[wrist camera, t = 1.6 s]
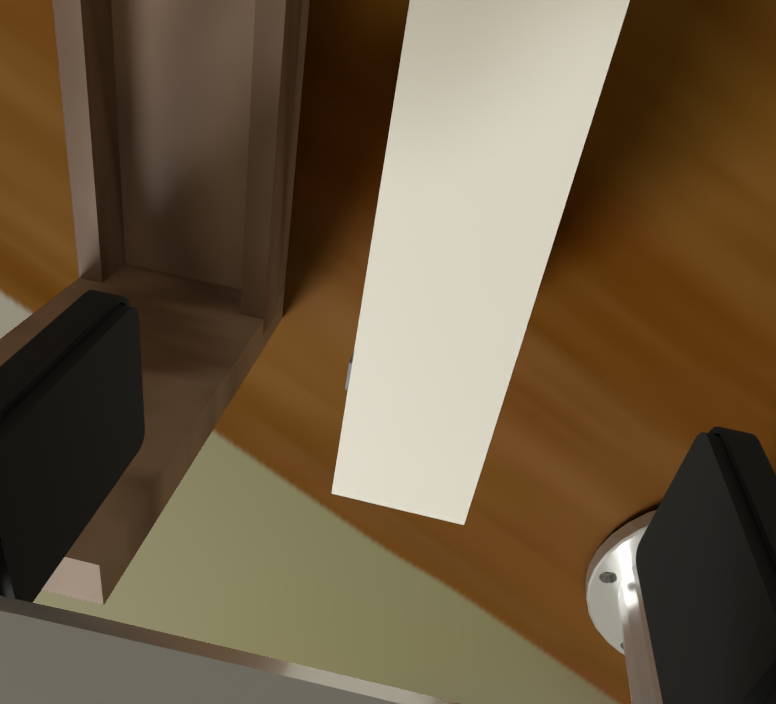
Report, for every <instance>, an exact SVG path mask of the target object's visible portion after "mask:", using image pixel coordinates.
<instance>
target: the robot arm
mask: <svg viewBox="0 0 776 704" xmlns="http://www.w3.org/2000/svg"><path fill="white" fill-rule="evenodd" d="M144 435H145V419H144V401H143V383H142V364H141V346H140V328H139V314H138V311H137V309H136V308H134V307H130V303H129V301H128V299H127V298H126V297H124V296H120V295H115V294H111V293H106V292H102V291H97V290H89V291H87V292H85V293H84V294H83V295H82V296H81V297H79V298H78V299H77V300H76V301H75V302H74V303H73V304H71V305H70V306H69V307H68V308H67V309H66V310H65V311H63V312H62V313H61V314H60V315H59V316H58V317H56V318H55V319H54V320H53V321H52V322H51V323H50V324H48V325H47V326H46V327H45V328H44V329H43V330H42V331H40V332H39V333H38V334H37V335H36V336H35V337H34V338H32V339H31V340H30V341H29V342H28V343H27V344H25V345H24V346H23V347H22V348H21V349H20V350H19V351H17V352H16V353H15V354H14V355H13V356H12V357H11V358H9V359H8V360H7V361H6V362H5V363H4V364H3V365H1V366H0V704H460V703H456V702H452V701H448V700H444V699H440V698H436V697H432V696H428V695H423V694H419V693H415V692H411V691H407V690H403V689H399V688H394V687H390V686H386V685H382V684H378V683H373V682H369V681H365V680H361V679H357V678H353V677H349V676H345V675H340V674H336V673H332V672H328V671H323V670H319V669H315V668H311V667H307V666H303V665H298V664H294V663H290V662H285V661H282V660H278V659H273V658H269V657H265V656H261V655H256V654H252V653H248V652H244V651H239V650H236V649H231V648H227V647H222V646H218V645H214V644H210V643H206V642H201V641H197V640H193V639H189V638H184V637H180V636H176V635H171V634H167V633H163V632H159V631H154V630H150V629H146V628H142V627H137V626H133V625H128V624H124V623H120V622H116V621H112V620H107V619H103V618H98V617H95V616H90V615H86V614H82V613H77V612H73V611H68V610H63V609H59V608H54V607H50V606H45V605H40V604H36V603H32V602H33V601H34V600H35V598H36V597H37V595H38V594H39V593H40V591H41V590H42V588H43V587H44V585H45V584H46V583H47V581H48V580H49V578H50V577H51V576H52V574H53V573H54V571H55V570H56V568H57V567H58V566H59V564H60V563H61V561H62V560H63V558H64V557H65V556H66V554H67V553H68V551H69V550H70V548H71V547H72V546H73V544H74V543H75V541H76V540H77V539H78V537H79V536H80V534H81V533H82V531H83V530H84V529H85V527H86V526H87V524H88V523H89V521H90V520H91V519H92V517H93V516H94V514H95V513H96V511H97V510H98V509H99V507H100V506H101V504H102V503H103V502H104V500H105V499H106V497H107V496H108V494H109V493H110V492H111V490H112V489H113V487H114V486H115V484H116V483H117V482H118V480H119V479H120V477H121V476H122V475H123V473H124V472H125V470H126V469H127V467H128V466H129V465H130V463H131V462H132V460H133V459H134V457H135V456H136V455H137V453H138V452H139V450H140V448H141V446H142V443H143V440H144ZM586 599H587V605H588V610H589V615H590V617H591V619H592V621H593V623H594V625H595V627H596V629H597V630H598V631H599V632H600V634H601V635H602V636H603V637H604V638H605V640H606V641H607V642H608V643H610V644H611V645H612V646H613V647H614V648H615V649H617V650H618V651H619V652H621V653H622V654H624V655H625V659H626V666H627V673H628V680H629V686H630V693H631V700H632V704H776V475H775V473H774V471H773V469H772V467H771V465H770V463H769V461H768V459H767V457H766V455H765V452H764V450H763V448H762V446H761V444H760V442H759V440H758V439H757V437H756V436H755V435H753V434H750V433H745V432H741V431H736V430H732V429H727V428H723V427H714V428H713V429H712V430H710V432H709V433H704V432H703V433H700V434H699V435H698V436H697V437H696V439H695V440H694V442H693V444H692V446H691V448H690V449H689V451H688V453H687V455H686V457H685V459H684V460H683V462H682V464H681V466H680V468H679V470H678V472H677V473H676V475H675V477H674V479H673V481H672V483H671V485H670V486H669V488H668V490H667V492H666V494H665V496H664V497H663V499H662V501H661V503H660V505H659V507H658V509H657V510H654V511H651V512H648V513H646V514H644V515H642V516H640V517H638V518H636V519H634V520H632V521H630V522H628V523H627V524H625V525H624V526H623V527H621V528H620V529H619V530H617V531H616V532H614V533H613V534H612V535H610V537H609V538H608V539H607V540H606V541H605V542H604V543H603V544H602V545H601V546H600V547H599V549H598V550H597V552H596V553H595V555H594V557H593V559H592V560H591V562H590V564H589V568H588V572H587V576H586Z"/></svg>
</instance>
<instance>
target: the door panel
mask: <svg viewBox="0 0 776 704" xmlns="http://www.w3.org/2000/svg"><path fill="white" fill-rule="evenodd" d="M629 2H630V0H410V2H409V9H408V15H407V21H406V28H405V34H404V40H403V46H402V53H401V59H400V65H399V72H398V78H397V84H396V91H395V97H394V103H393V109H392V116H391V122H390V128H389V135H388V141H387V147H386V154H385V160H384V166H383V172H382V179H381V185H380V191H379V198H378V204H377V210H376V217H375V223H374V229H373V235H372V242H371V248H370V254H369V261H368V267H367V273H366V280H365V286H364V292H363V298H362V305H361V311H360V317H359V324H358V330H357V336H356V343H355V349H354V352H353V354H352V357H351V359H350V362H349V367H348V373H347V380H346V386H345V389H347V390H348V393H347V399H346V406H345V412H344V418H343V424H342V431H341V437H340V443H339V450H338V456H337V462H336V469H335V475H334V481H333V487H332V494H336V495H340V496H345V497H349V498H353V499H357V500H361V501H365V502H370V503H374V504H378V505H382V506H386V507H391V508H395V509H399V510H403V511H407V512H411V513H416V514H420V515H424V516H428V517H432V518H437V519H441V520H445V521H449V522H453V523H458V524H462V525H464V523H465V520H466V517H467V514H468V510H469V507H470V504H471V501H472V498H473V495H474V492H475V488H476V485H477V482H478V479H479V476H480V473H481V469H482V466H483V463H484V460H485V457H486V454H487V450H488V447H489V444H490V441H491V438H492V435H493V432H494V428H495V425H496V422H497V419H498V416H499V413H500V409H501V406H502V403H503V400H504V397H505V394H506V390H507V387H508V384H509V381H510V378H511V375H512V371H513V368H514V365H515V362H516V359H517V356H518V353H519V349H520V346H521V343H522V340H523V337H524V334H525V330H526V327H527V324H528V321H529V318H530V315H531V311H532V308H533V305H534V302H535V299H536V296H537V292H538V289H539V286H540V283H541V280H542V277H543V274H544V270H545V267H546V264H547V261H548V258H549V255H550V251H551V248H552V245H553V242H554V239H555V236H556V232H557V229H558V226H559V223H560V220H561V217H562V213H563V210H564V207H565V204H566V201H567V198H568V195H569V191H570V188H571V185H572V182H573V179H574V176H575V172H576V169H577V166H578V163H579V160H580V157H581V153H582V150H583V147H584V144H585V141H586V138H587V135H588V131H589V128H590V125H591V122H592V119H593V116H594V112H595V109H596V106H597V103H598V100H599V97H600V93H601V90H602V87H603V84H604V81H605V78H606V74H607V71H608V68H609V65H610V62H611V59H612V56H613V52H614V49H615V46H616V43H617V40H618V37H619V33H620V30H621V27H622V24H623V21H624V18H625V14H626V11H627V8H628V5H629Z"/></svg>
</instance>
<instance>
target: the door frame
mask: <svg viewBox="0 0 776 704" xmlns="http://www.w3.org/2000/svg"><path fill="white" fill-rule="evenodd" d="M52 1H53V11H54V21H55V32H56V42H57V52H58V62H59V73H60V83H61V93H62V103H63V114H64V124H65V134H66V145H67V155H68V165H69V175H70V186H71V196H72V206H73V217H74V227H75V237H76V247H77V258H78V268H79V279H77V280H76V281H75V282H73V283H72V284H71V285H70V286H68V287H67V288H66V289H64V290H63V291H62V292H61V293H59V294H58V295H57V296H55V297H54V298H53V299H51V300H50V301H49V302H48V303H46V304H45V305H44V306H42V307H41V308H40V309H39V310H37V311H36V312H35V313H33V314H32V315H31V316H29V317H28V318H27V319H26V320H24V321H23V322H22V323H20V324H19V325H18V326H17V327H15V328H14V329H13V330H11V331H10V332H9V333H7V334H6V335H5V336H4V337H2V338H1V339H0V366H1V365H3V364H4V363H5V362H6V361H7V360H8V359H9V358H11V357H12V356H13V355H14V354H15V353H16V352H17V351H19V350H20V349H21V348H22V347H23V346H24V345H25V344H27V343H28V342H29V341H30V340H31V339H32V338H34V337H35V336H36V335H37V334H38V333H39V332H40V331H42V330H43V329H44V328H45V327H46V326H47V325H48V324H50V323H51V322H52V321H53V320H54V319H55V318H56V317H58V316H59V315H60V314H61V313H62V312H63V311H65V310H66V309H67V308H68V307H69V306H70V305H71V304H73V303H74V302H75V301H76V300H77V299H78V298H79V297H81V296H82V295H83V294H84V293H85V292H87V291H89V290H97V291H102V292H106V293H111V294H115V295H120V296H124V297H126V298H127V299H128V301H129V303H130V307H134V308H136V309H137V311H138V314H139V328H140V346H141V364H142V383H143V401H144V419H145V435H144V440H143V443H142V446H141V448H140V450H139V452H138V453H137V455H136V456H135V457H134V459H133V460H132V462H131V463H130V465H129V466H128V467H127V469H126V470H125V472H124V473H123V475H122V476H121V477H120V479H119V480H118V482H117V483H116V484H115V486H114V487H113V489H112V490H111V492H110V493H109V494H108V496H107V497H106V499H105V500H104V502H103V503H102V504H101V506H100V507H99V509H98V510H97V511H96V513H95V514H94V516H93V517H92V519H91V520H90V521H89V523H88V524H87V526H86V527H85V529H84V530H83V531H82V533H81V534H80V536H79V537H78V539H77V540H76V541H75V543H74V544H73V546H72V547H71V548H70V550H69V551H68V553H67V554H66V556H65V557H64V558H63V560H62V561H61V563H60V564H59V566H58V567H57V568H56V570H55V571H54V573H53V574H52V576H51V577H50V578H49V580H48V581H47V583H46V584H45V585H44V587H43V588H42V590H45V591H49V592H52V593H57V594H60V595H64V596H68V597H73V598H76V599H80V600H84V601H88V602H92V603H96V604H100V605H104V604H105V602H106V600H107V599H108V597H109V596H110V594H111V593H112V591H113V589H114V587H115V586H116V584H117V583H118V581H119V580H120V578H121V576H122V575H123V573H124V572H125V570H126V568H127V567H128V565H129V564H130V562H131V560H132V559H133V557H134V556H135V554H136V552H137V551H138V549H139V548H140V546H141V544H142V543H143V541H144V539H145V538H146V536H147V535H148V533H149V531H150V530H151V528H152V527H153V525H154V523H155V522H156V520H157V519H158V517H159V515H160V514H161V512H162V511H163V509H164V507H165V506H166V504H167V503H168V501H169V499H170V498H171V496H172V495H173V493H174V491H175V490H176V488H177V486H178V485H179V483H180V481H181V480H182V478H183V477H184V475H185V473H186V472H187V470H188V469H189V467H190V465H191V464H192V462H193V461H194V459H195V458H196V456H197V454H198V453H199V451H200V450H201V448H202V446H203V445H204V443H205V442H206V440H207V438H208V437H209V435H210V433H211V432H212V430H213V429H214V427H215V425H216V424H217V422H218V421H219V419H220V417H221V416H222V414H223V413H224V411H225V409H226V408H227V406H228V405H229V403H230V401H231V400H232V398H233V397H234V395H235V393H236V392H237V390H238V388H239V387H240V385H241V384H242V382H243V380H244V379H245V377H246V376H247V374H248V372H249V371H250V369H251V368H252V366H253V364H254V363H255V361H256V360H257V358H258V356H259V355H260V353H261V352H262V350H263V348H264V347H265V345H266V344H267V342H268V340H269V339H270V337H271V335H272V334H273V332H274V331H275V329H276V327H277V326H278V324H279V323H280V321H281V319H282V315H283V303H284V292H285V280H286V269H287V257H288V246H289V234H290V223H291V211H292V200H293V188H294V177H295V165H296V154H297V142H298V131H299V119H300V108H301V97H302V85H303V74H304V62H305V51H306V39H307V28H308V16H309V5H310V0H52Z"/></svg>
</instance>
